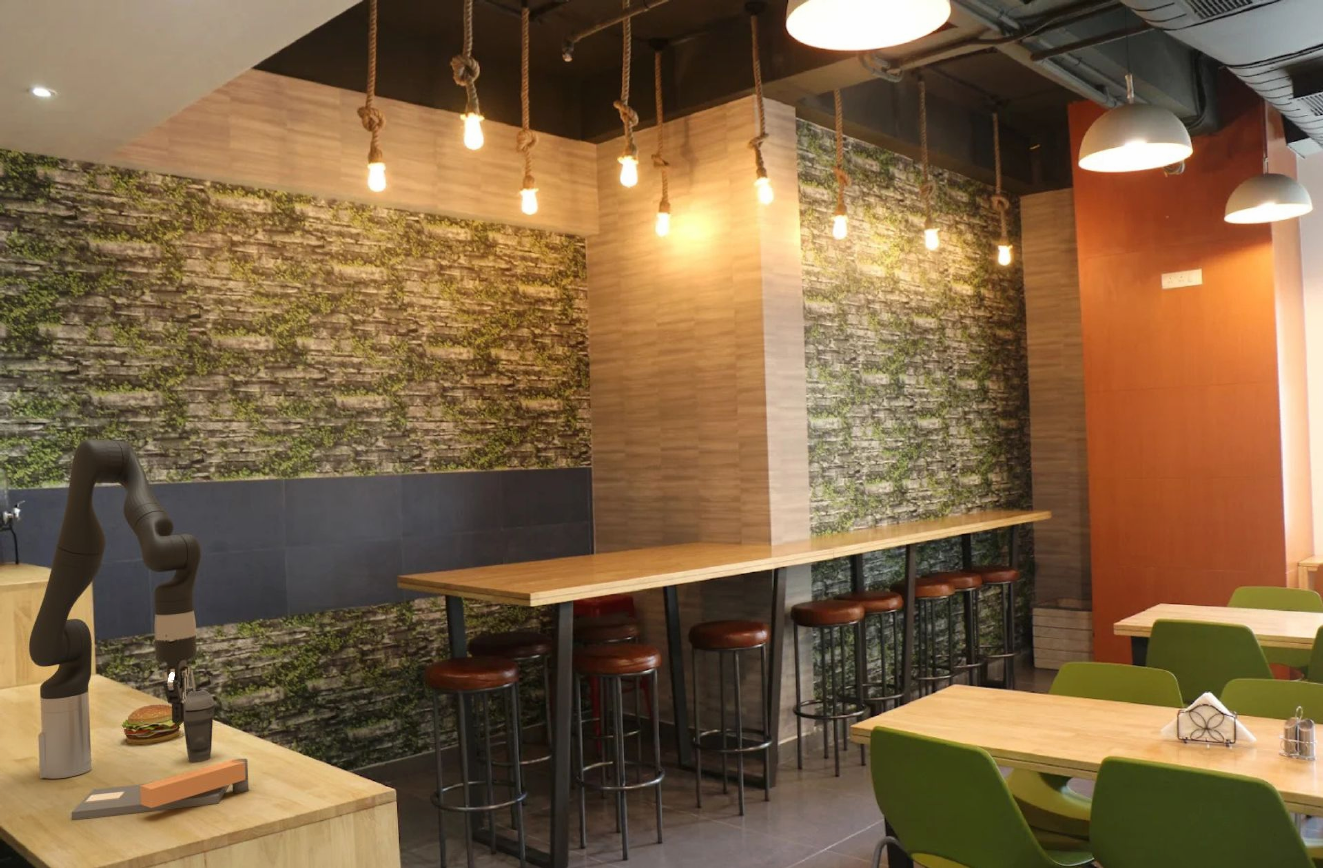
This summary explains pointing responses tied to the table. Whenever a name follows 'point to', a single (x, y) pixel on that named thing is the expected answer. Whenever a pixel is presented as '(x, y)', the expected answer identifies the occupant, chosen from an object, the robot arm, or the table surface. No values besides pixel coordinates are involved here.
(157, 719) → the food
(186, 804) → the label board
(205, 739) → the beverage cup
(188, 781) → the swing bar
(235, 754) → the table surface
